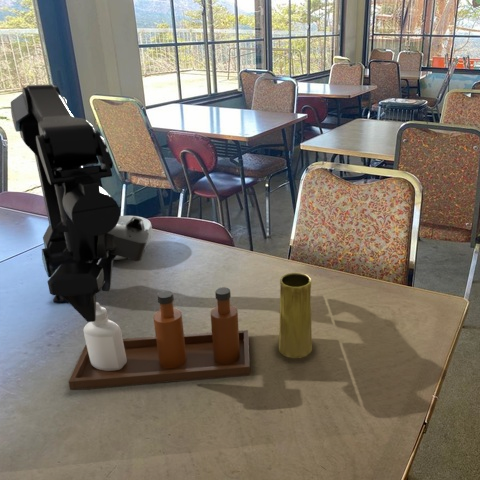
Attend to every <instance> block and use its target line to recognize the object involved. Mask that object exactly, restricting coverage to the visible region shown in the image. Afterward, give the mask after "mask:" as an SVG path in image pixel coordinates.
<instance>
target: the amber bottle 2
mask: <svg viewBox="0 0 480 480" xmlns="http://www.w3.org/2000/svg"><path fill="white" fill-rule="evenodd" d="M214 293H215V299H216V304H217V306H215V307H213V308H212V309H211V310H210V324H211V325H210V326H211V333H212V339H213V353H214V360H215V361H216V362H218V363H220V364H230V363H233V362H235V361H237V360H238V358H239V357H240V349H239V331H240V330H239V311H238V308H237V307H236V306H234V305H232V304H231V301H230V300H231V297H232V296H231V295H232V294H231V289H230V288H229V287H226V286H225V287H224V286H223V287H218V288H216V289H215V291H214Z"/></svg>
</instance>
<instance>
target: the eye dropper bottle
mask: <svg viewBox="0 0 480 480" xmlns="http://www.w3.org/2000/svg"><path fill="white" fill-rule="evenodd" d="M82 332H83V336H84V341H85V345H87V349H88V354H89V358H90V362H91V365H92V366H93V367H95V368H96V369H99V370H103V371H116V370H120V369H121V368H122V367H123V366H124V365H125V364H126V362H127V359H126V353H125V348H124V343H123V339H124V338H123V334H122V329H121V327H120V325H118V324H117V323H116V322H114V321H113V320H110V319H109V316H108V311H107V308H106V307H104V306H101V305H100V303H99V302H97V301H96V320H95V321H94V322H88V323H87V324H85V326H84V327H83V331H82Z"/></svg>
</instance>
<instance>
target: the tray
mask: <svg viewBox="0 0 480 480" xmlns="http://www.w3.org/2000/svg"><path fill="white" fill-rule="evenodd" d="M184 341H185V350H186V361H185V363H184V364H183V365H181V366H179V367H177V368H172V369H168V368H164V367H162V366H161V365H160V364H159V357H158V349H157V341H156V335H155V336H143V337H129V338H128V337H127V338H123V343H124V348H125V353H126V359H127V362H126V364H125V365H124V366H123V367H122V368H121V369H120V370H116V371H103V370H99V369H96V368H95V367H93V366H92V365H91V362H90V358H89V354H88V349H87V345H86V344H85V345H84V347H83V350H82V352H81V354H80V356H79V358H78V360H77V362H76V364H75V367H74V368H73V371H72V373H71V374H70V377H69V379H68V386H69V390H70V391H71V390H82V389H84V390H85V389H94V388H95V389H96V388H105V387H106V388H107V387H119V386H129V385H141V384H155V383H166V382H178V381H190V380H202V379H211V378H212V379H213V378H225V377H236V376H237V377H238V376H247V375H251V366H250V365H251V364H250V363H251V361H250V344H249V343H250V342H249V330H248V329H245V330H244V329H240V330H239V349H240V357H239V358H238V360H237V361H235V362H233V363H230V364H220V363H218V362H216V361H215V360H214V353H213V339H212V332H199V333H184Z"/></svg>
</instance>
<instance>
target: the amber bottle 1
mask: <svg viewBox="0 0 480 480" xmlns="http://www.w3.org/2000/svg"><path fill="white" fill-rule="evenodd" d="M156 297H157V303H158V304H159V310H157V311H156V312H154V314H153V317H152V318H153V326H154V332H155V333H154V335H155V336H156V341H157V349H158V357H159V364H160V365H161V366H162V367H164V368H168V369H172V368H177V367H179V366H181V365H183V364H184V363H185V361H186V350H185V341H184V334H185V333H184V332H185V331H184V323H183V322H184V321H183V314H182V311H181V310H180V309H178V308H175V307H174V301H175V298H174V292H173V291H172V290H162V291H159V292H158V293H156Z"/></svg>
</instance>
